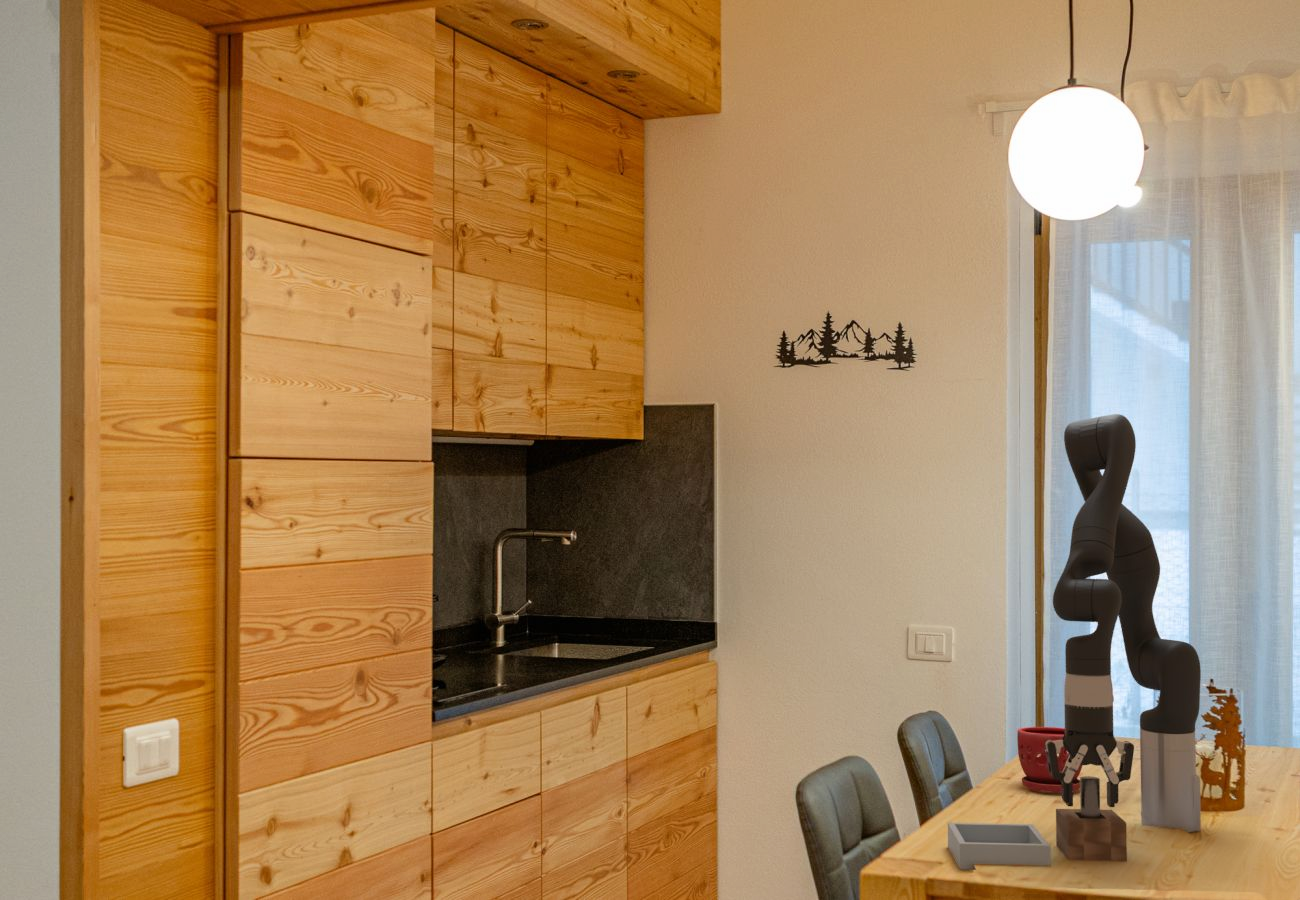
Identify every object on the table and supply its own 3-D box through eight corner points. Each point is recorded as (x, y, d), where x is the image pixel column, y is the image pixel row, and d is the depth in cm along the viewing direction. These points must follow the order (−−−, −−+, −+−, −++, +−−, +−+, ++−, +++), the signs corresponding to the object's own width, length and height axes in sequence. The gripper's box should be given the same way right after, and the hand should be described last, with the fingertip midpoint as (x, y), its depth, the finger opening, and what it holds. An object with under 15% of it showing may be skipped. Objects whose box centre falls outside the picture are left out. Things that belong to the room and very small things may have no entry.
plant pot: (1098, 794, 264) (1097, 733, 264) (1039, 797, 260) (1038, 736, 261) (1062, 781, 276) (1062, 723, 277) (1005, 784, 273) (1005, 725, 274)
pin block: (1112, 852, 219) (1111, 809, 219) (1126, 867, 210) (1126, 822, 210) (1056, 851, 220) (1055, 808, 220) (1068, 866, 211) (1068, 821, 211)
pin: (1098, 850, 216) (1096, 776, 217) (1102, 855, 213) (1101, 780, 214) (1079, 850, 217) (1078, 776, 217) (1083, 855, 214) (1082, 779, 214)
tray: (1033, 848, 222) (1032, 824, 222) (1050, 871, 208) (1050, 845, 208) (947, 846, 223) (947, 822, 223) (960, 869, 209) (959, 843, 209)
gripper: (1127, 698, 219) (1129, 801, 218) (1038, 697, 220) (1039, 799, 220) (1140, 705, 212) (1142, 812, 211) (1048, 704, 213) (1049, 810, 212)
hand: (1089, 805), depth 215 cm, fingers open, 6 cm apart
